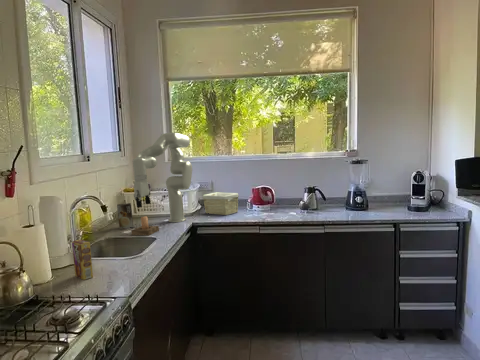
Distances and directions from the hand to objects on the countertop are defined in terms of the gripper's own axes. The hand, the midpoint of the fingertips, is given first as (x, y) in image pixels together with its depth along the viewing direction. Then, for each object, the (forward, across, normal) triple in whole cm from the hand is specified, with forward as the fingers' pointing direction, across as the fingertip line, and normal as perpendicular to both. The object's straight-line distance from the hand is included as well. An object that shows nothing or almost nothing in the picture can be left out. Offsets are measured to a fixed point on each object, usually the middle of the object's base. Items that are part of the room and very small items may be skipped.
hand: (143, 205), depth 230 cm
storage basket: (+20, -62, +27) cm, 70 cm away
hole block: (+17, +1, 0) cm, 17 cm away
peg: (+17, +1, 0) cm, 17 cm away
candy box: (+15, +74, +16) cm, 77 cm away
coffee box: (+18, -12, -23) cm, 31 cm away
